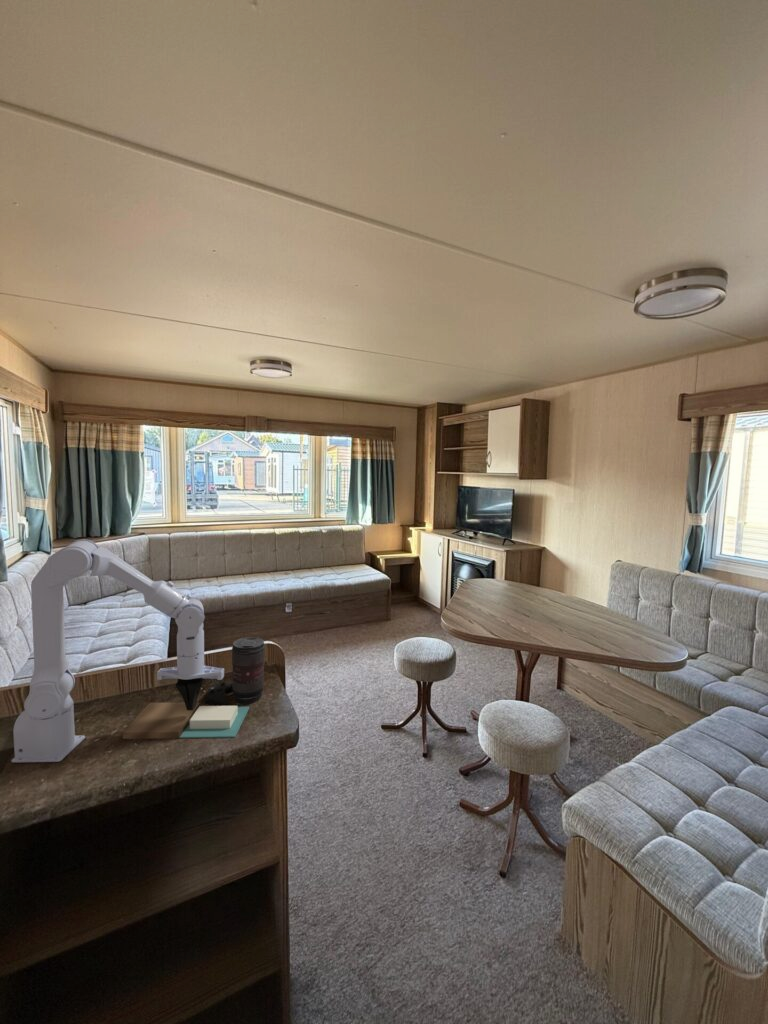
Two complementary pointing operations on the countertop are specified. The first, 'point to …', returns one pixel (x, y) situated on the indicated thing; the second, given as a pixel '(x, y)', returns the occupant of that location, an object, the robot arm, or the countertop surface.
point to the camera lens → (248, 669)
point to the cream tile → (213, 717)
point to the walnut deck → (160, 721)
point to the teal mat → (217, 733)
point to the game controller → (218, 693)
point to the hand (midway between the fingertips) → (191, 708)
